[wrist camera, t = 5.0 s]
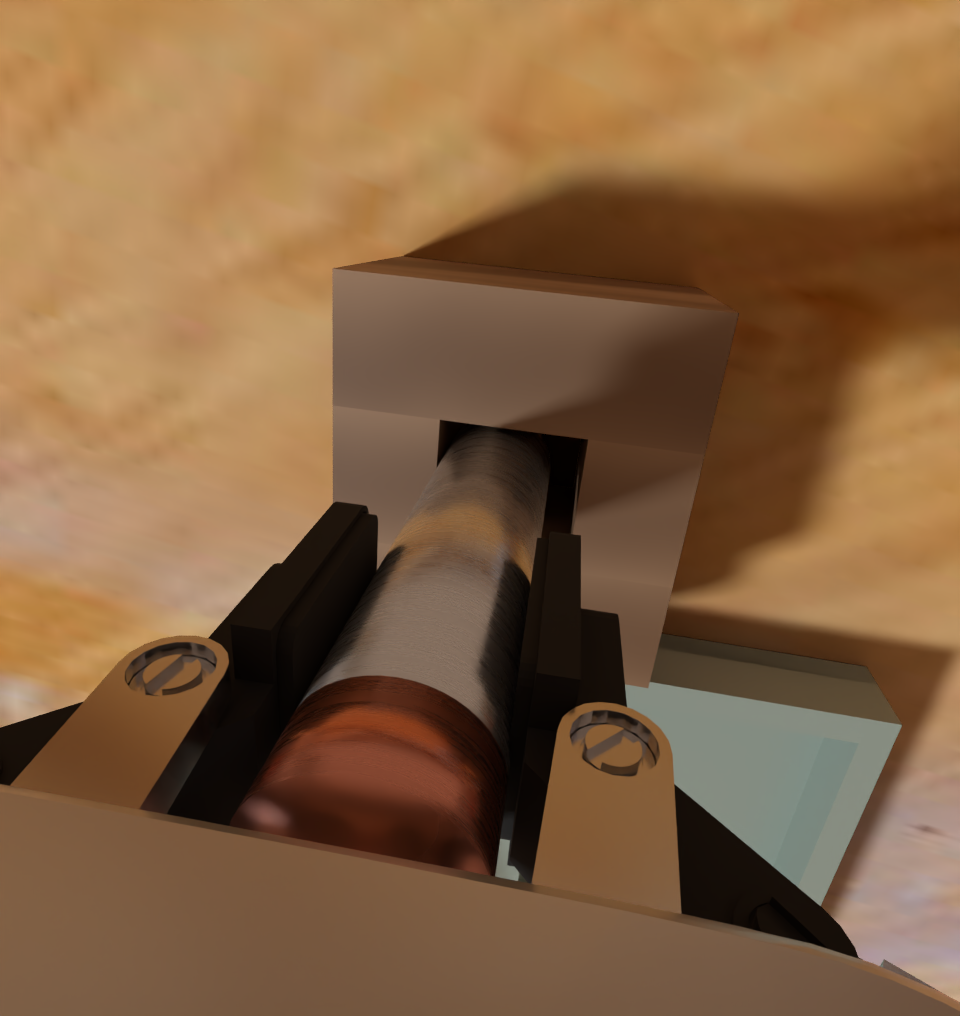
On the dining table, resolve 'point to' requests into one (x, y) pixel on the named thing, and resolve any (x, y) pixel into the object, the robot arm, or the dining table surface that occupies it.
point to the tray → (768, 748)
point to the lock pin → (421, 675)
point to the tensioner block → (536, 407)
